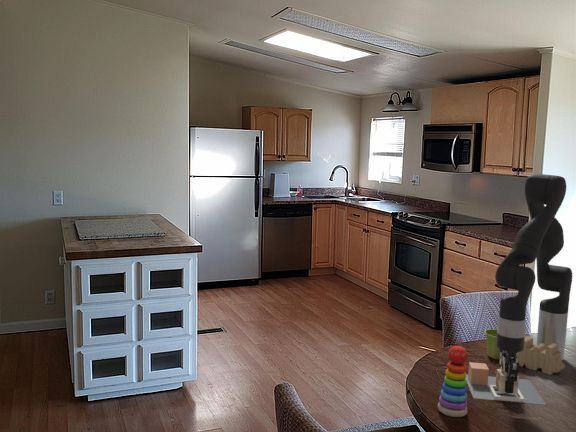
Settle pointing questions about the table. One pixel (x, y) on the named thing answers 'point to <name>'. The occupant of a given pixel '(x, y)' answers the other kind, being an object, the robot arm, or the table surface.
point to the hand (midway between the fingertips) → (506, 388)
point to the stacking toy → (454, 384)
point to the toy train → (540, 357)
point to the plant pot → (492, 343)
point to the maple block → (501, 381)
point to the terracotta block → (478, 373)
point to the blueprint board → (492, 393)
